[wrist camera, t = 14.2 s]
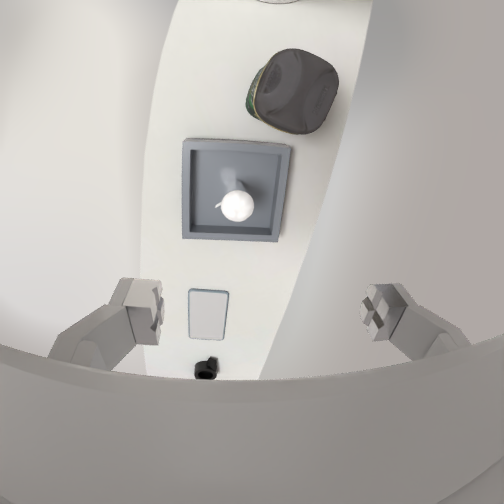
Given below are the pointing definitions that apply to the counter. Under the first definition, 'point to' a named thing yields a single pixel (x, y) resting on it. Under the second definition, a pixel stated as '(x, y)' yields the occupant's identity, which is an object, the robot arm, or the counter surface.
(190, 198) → the tray
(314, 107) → the coffee jar
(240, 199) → the milkshake
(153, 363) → the counter surface
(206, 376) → the black wing nut
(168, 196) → the counter surface
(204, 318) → the smartphone
